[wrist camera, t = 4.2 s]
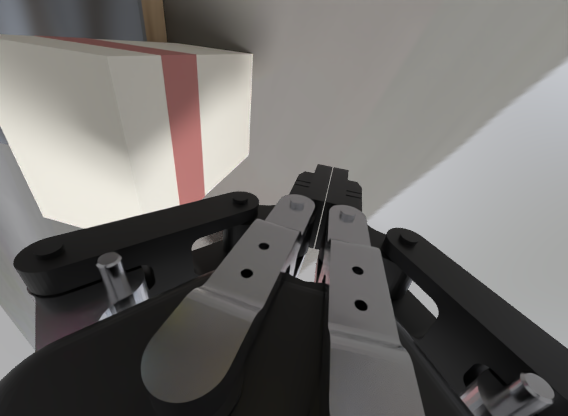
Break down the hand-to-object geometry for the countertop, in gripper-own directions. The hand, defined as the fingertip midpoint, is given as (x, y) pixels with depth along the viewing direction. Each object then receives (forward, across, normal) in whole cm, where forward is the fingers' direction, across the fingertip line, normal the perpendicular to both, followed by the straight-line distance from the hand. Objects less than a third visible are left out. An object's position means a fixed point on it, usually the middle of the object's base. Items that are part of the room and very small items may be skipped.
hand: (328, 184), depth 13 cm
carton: (+12, +12, 0) cm, 17 cm away
